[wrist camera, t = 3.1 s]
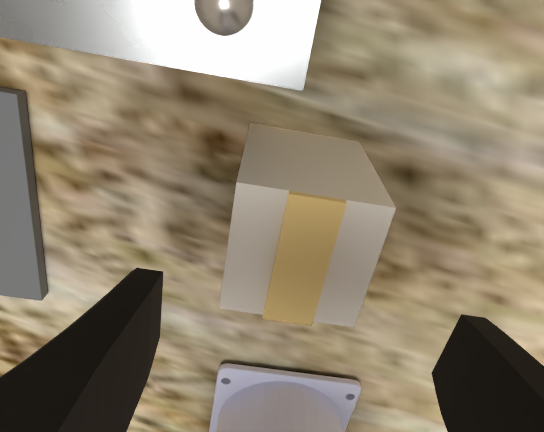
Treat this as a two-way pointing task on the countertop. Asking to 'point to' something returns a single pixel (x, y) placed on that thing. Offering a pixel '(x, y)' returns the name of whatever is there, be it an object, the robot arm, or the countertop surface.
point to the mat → (19, 204)
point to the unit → (178, 33)
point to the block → (304, 228)
